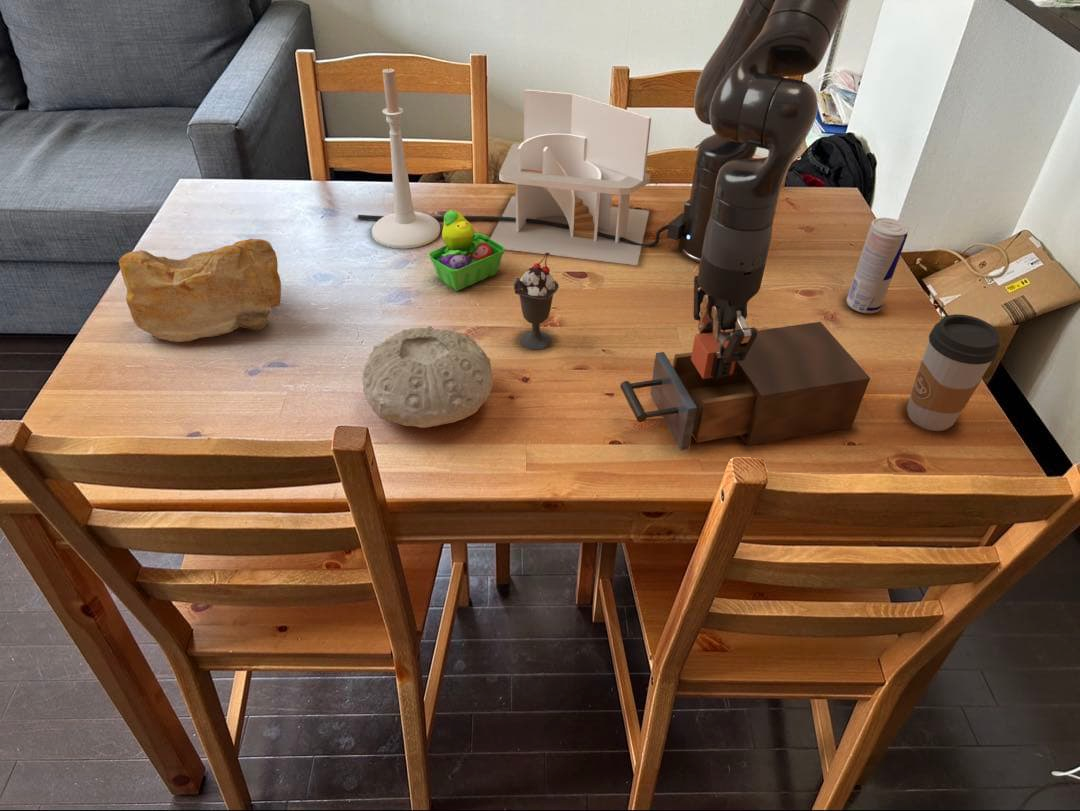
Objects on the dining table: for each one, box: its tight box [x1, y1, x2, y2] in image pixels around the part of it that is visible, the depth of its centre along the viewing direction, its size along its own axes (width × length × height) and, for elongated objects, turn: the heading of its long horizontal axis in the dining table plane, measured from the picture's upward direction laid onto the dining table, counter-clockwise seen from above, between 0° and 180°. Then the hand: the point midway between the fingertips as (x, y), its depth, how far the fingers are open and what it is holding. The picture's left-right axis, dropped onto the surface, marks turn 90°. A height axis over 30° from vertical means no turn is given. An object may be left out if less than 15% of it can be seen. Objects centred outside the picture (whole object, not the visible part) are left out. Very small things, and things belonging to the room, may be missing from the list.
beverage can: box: [846, 217, 910, 314], centre depth 127 cm, size 6×6×15 cm
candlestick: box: [371, 66, 441, 250], centre depth 139 cm, size 13×13×30 cm
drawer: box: [619, 351, 758, 451], centre depth 106 cm, size 20×12×7 cm, turn 104°
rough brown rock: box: [118, 238, 282, 343], centre depth 123 cm, size 23×17×15 cm
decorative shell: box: [361, 326, 493, 429], centre depth 108 cm, size 18×18×10 cm
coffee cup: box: [906, 314, 1001, 432], centre depth 106 cm, size 8×8×15 cm
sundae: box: [513, 253, 560, 351], centre depth 118 cm, size 7×7×15 cm
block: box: [691, 330, 736, 379], centre depth 102 cm, size 4×4×4 cm
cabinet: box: [735, 321, 871, 448], centre depth 109 cm, size 16×13×9 cm
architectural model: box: [489, 89, 652, 266], centre depth 142 cm, size 28×21×23 cm
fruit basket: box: [428, 209, 506, 292], centre depth 133 cm, size 11×9×11 cm
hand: (712, 365), depth 103 cm, fingers closed on block, 4 cm apart
